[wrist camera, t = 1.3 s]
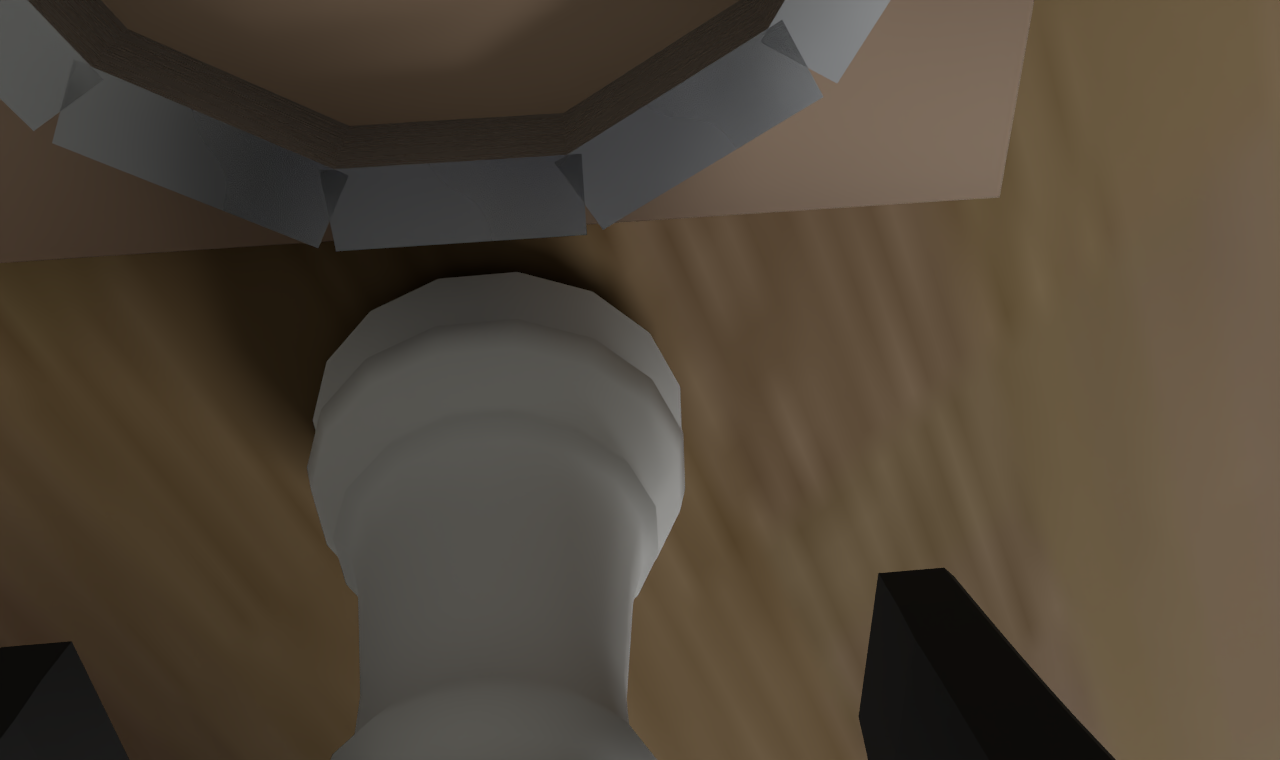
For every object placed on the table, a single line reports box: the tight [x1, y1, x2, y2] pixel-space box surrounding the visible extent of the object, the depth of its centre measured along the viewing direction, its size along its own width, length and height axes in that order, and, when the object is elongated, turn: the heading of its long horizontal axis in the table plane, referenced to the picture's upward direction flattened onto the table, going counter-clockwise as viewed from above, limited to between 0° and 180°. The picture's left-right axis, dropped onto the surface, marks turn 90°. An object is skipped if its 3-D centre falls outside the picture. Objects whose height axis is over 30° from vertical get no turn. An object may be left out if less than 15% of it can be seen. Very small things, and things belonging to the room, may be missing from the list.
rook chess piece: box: [307, 272, 685, 760], centre depth 10 cm, size 4×4×8 cm
